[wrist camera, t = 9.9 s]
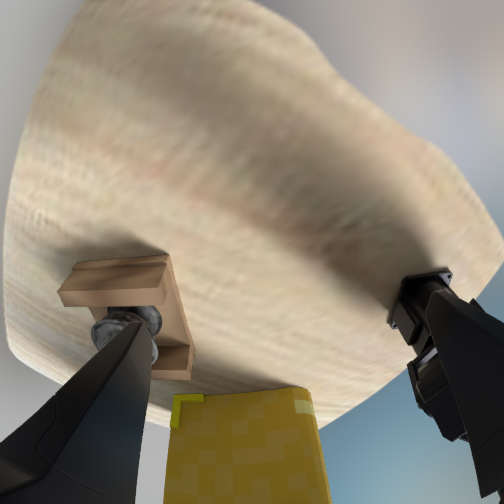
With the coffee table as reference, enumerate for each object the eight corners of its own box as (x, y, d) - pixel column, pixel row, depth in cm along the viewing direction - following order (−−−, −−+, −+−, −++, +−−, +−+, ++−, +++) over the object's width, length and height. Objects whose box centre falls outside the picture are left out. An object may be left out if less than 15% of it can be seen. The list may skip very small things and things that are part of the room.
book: (189, 417, 34) (182, 574, 12) (173, 394, 31) (158, 578, 9) (309, 406, 34) (338, 569, 12) (310, 381, 30) (348, 576, 9)
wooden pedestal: (169, 254, 21) (157, 284, 18) (195, 349, 27) (191, 381, 23) (76, 262, 21) (55, 288, 18) (116, 348, 26) (106, 377, 23)
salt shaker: (101, 285, 21) (40, 401, 11) (166, 298, 22) (131, 432, 12) (108, 332, 24) (69, 438, 13) (165, 344, 25) (143, 460, 14)
